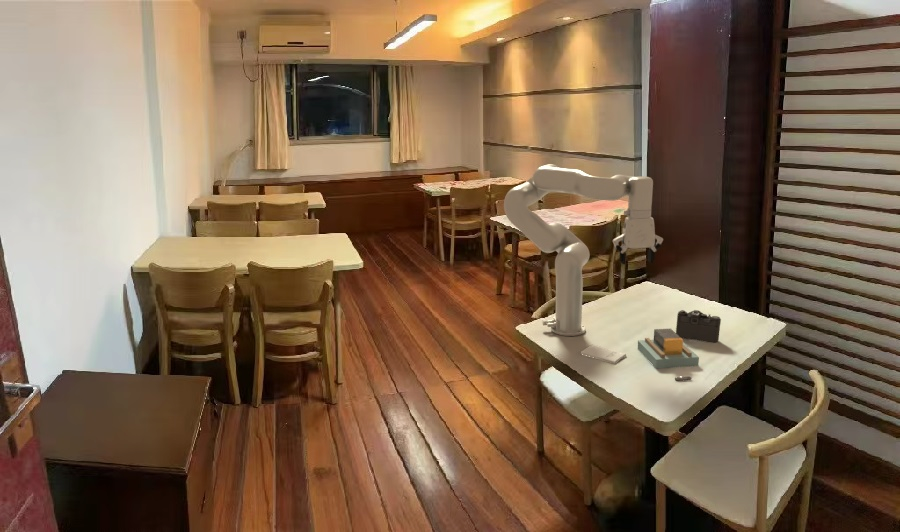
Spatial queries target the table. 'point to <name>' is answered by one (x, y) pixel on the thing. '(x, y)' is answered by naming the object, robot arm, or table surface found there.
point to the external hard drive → (603, 354)
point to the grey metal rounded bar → (683, 378)
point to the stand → (667, 360)
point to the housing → (668, 341)
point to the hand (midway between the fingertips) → (636, 262)
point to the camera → (698, 326)
